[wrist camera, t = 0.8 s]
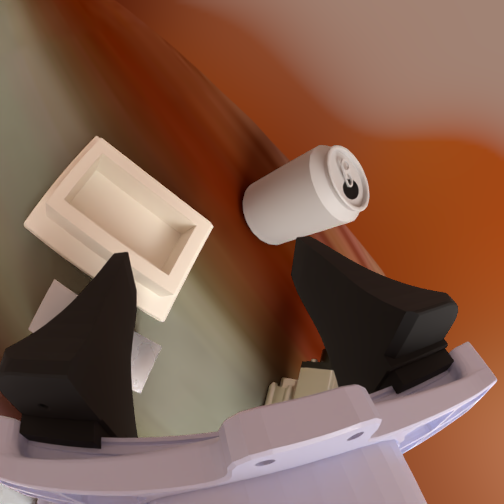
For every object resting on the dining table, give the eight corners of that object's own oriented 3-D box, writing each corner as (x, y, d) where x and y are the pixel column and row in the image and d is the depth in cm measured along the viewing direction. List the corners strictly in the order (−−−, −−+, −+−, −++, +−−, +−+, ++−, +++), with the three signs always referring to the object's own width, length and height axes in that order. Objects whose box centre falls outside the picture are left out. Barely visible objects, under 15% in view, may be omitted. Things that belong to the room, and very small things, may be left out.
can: (256, 257, 31) (351, 229, 22) (226, 192, 31) (311, 141, 21) (297, 232, 36) (382, 204, 27) (272, 177, 35) (351, 134, 26)
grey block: (121, 375, 21) (140, 393, 16) (36, 324, 17) (28, 329, 13) (138, 339, 22) (161, 346, 18) (56, 286, 19) (54, 278, 14)
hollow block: (160, 321, 24) (178, 322, 20) (24, 227, 18) (19, 211, 15) (208, 229, 28) (230, 217, 25) (94, 141, 22) (103, 116, 19)
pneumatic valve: (301, 353, 33) (394, 356, 23) (278, 447, 28) (367, 476, 19) (266, 342, 30) (365, 346, 21) (240, 446, 25) (332, 487, 16)
